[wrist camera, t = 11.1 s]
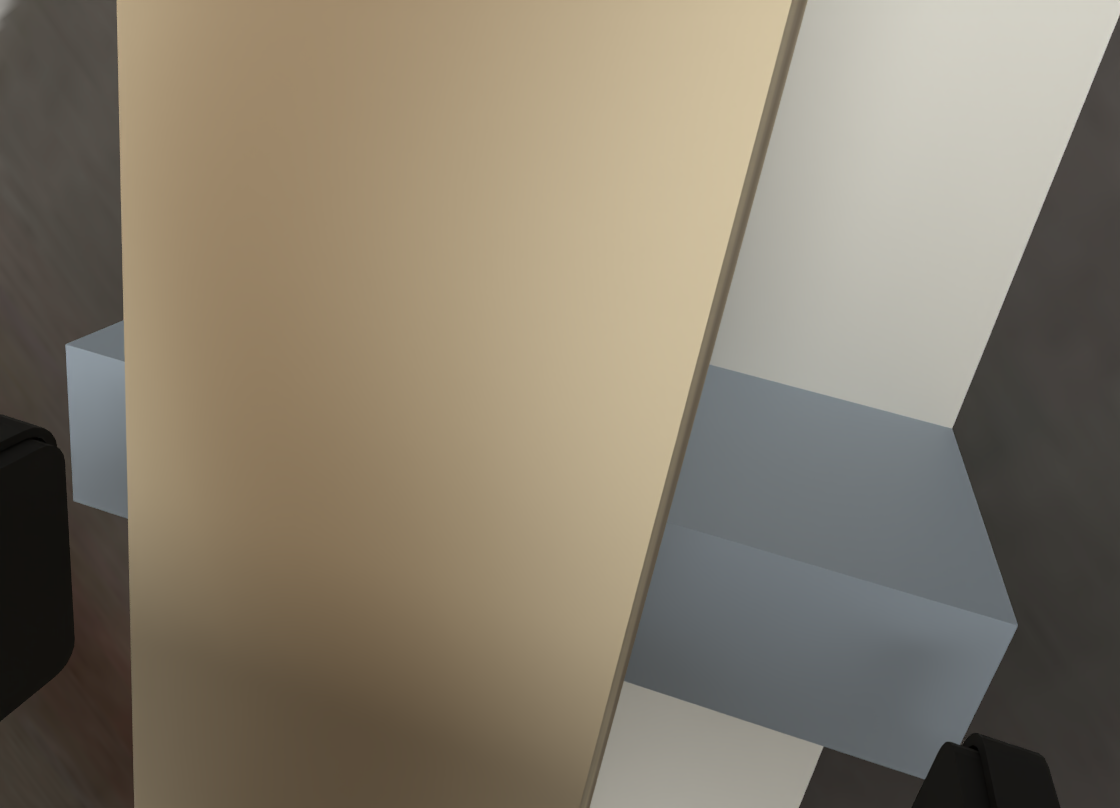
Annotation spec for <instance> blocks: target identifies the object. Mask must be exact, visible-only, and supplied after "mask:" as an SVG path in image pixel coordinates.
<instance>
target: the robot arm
mask: <svg viewBox="0 0 1120 808" xmlns="http://www.w3.org/2000/svg"><path fill="white" fill-rule="evenodd" d="M74 640H75V638H74V620H73V602H72V583H71V565H70V547H69V529H68V511H67V493H66V474H65V460H64V455H63V453H62V452H61V450H60V449H59V448H57V444H56V440H55V438H54V437H53V435H52V434H51V432H49V431H48V430H46V429H44V428H42V427H39V426H36V425H33V424H30V423H26V422H23V421H20V420H17V419H14V418H11V417H8V416H5V415H0V721H1V720H3V719H4V718H5V717H6V716H7V715H9V714H10V713H11V712H12V711H13V710H15V709H16V708H17V707H18V706H20V705H21V704H22V703H23V702H24V701H26V700H27V699H28V698H29V697H31V696H32V695H33V694H34V693H35V692H37V691H38V690H39V689H40V688H42V687H43V686H44V685H45V684H46V683H48V682H49V681H50V680H51V679H53V678H54V677H55V676H56V675H57V674H58V673H59V672H60V671H61V670H62V669H63V668H64V666H65V665H66V664H67V662H68V660H69V658H70V656H71V654H72V651H73V648H74ZM912 808H1060V805H1059V802H1058V798H1057V795H1056V791H1055V788H1054V784H1053V781H1052V777H1051V774H1050V770H1049V767H1048V765H1047V762H1046V760H1045V758H1044V757H1043V756H1041V755H1040V754H1039V753H1036V752H1033V751H1030V750H1027V749H1024V748H1021V747H1018V746H1015V745H1011V744H1008V743H1005V742H1002V741H999V740H996V739H993V738H990V737H987V736H984V735H981V734H978V733H976V734H971V735H970V736H969V737H968V738H967V739H966V740H965V742H964V744H963V745H959V744H956V743H953V742H950V741H949V742H945V743H944V744H943V745H942V746H941V748H940V750H939V751H938V753H937V755H936V758H935V760H934V762H933V764H932V766H931V768H930V770H929V772H928V774H927V776H926V778H925V781H924V783H923V785H922V787H921V789H920V791H919V793H918V795H917V797H916V799H915V802H914V804H913V806H912Z"/></svg>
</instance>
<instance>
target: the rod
mask: <svg viewBox="0 0 1120 808" xmlns="http://www.w3.org/2000/svg"><path fill="white" fill-rule="evenodd" d="M807 1H808V0H117V34H118V80H119V126H120V172H121V218H122V263H123V309H124V355H125V401H126V446H127V492H128V538H129V584H130V629H131V675H132V721H133V767H134V808H590V804H591V801H592V797H593V793H594V790H595V786H596V782H597V778H598V775H599V771H600V767H601V764H602V760H603V756H604V753H605V749H606V745H607V741H608V738H609V734H610V730H611V727H612V723H613V719H614V716H615V712H616V708H617V704H618V701H619V697H620V693H621V690H622V686H623V682H624V679H625V675H626V671H627V667H628V664H629V660H630V656H631V653H632V649H633V645H634V642H635V638H636V634H637V630H638V627H639V623H640V619H641V616H642V612H643V608H644V604H645V601H646V597H647V593H648V590H649V586H650V582H651V579H652V575H653V571H654V567H655V564H656V560H657V556H658V553H659V549H660V545H661V542H662V538H663V534H664V530H665V527H666V523H667V519H668V516H669V512H670V508H671V505H672V501H673V497H674V493H675V490H676V486H677V482H678V479H679V475H680V471H681V468H682V464H683V460H684V456H685V453H686V449H687V445H688V442H689V438H690V434H691V431H692V427H693V423H694V419H695V416H696V412H697V408H698V405H699V401H700V397H701V394H702V390H703V386H704V382H705V379H706V375H707V371H708V368H709V364H710V360H711V357H712V353H713V349H714V345H715V342H716V338H717V334H718V331H719V327H720V323H721V320H722V316H723V312H724V308H725V305H726V301H727V297H728V294H729V290H730V286H731V283H732V279H733V275H734V271H735V268H736V264H737V260H738V257H739V253H740V249H741V246H742V242H743V238H744V234H745V231H746V227H747V223H748V220H749V216H750V212H751V208H752V205H753V201H754V197H755V194H756V190H757V186H758V183H759V179H760V175H761V171H762V168H763V164H764V160H765V157H766V153H767V149H768V146H769V142H770V138H771V134H772V131H773V127H774V123H775V120H776V116H777V112H778V109H779V105H780V101H781V97H782V94H783V90H784V86H785V83H786V79H787V75H788V72H789V68H790V64H791V60H792V57H793V53H794V49H795V46H796V42H797V38H798V35H799V31H800V27H801V23H802V20H803V16H804V12H805V9H806V5H807Z"/></svg>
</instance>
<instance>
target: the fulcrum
mask: <svg viewBox="0 0 1120 808" xmlns="http://www.w3.org/2000/svg"><path fill="white" fill-rule="evenodd" d="M1119 15H1120V0H808V1H807V5H806V9H805V12H804V16H803V20H802V23H801V27H800V31H799V35H798V38H797V42H796V46H795V49H794V53H793V57H792V60H791V64H790V68H789V72H788V75H787V79H786V83H785V86H784V90H783V94H782V97H781V101H780V105H779V109H778V112H777V116H776V120H775V123H774V127H773V131H772V134H771V138H770V142H769V146H768V149H767V153H766V157H765V160H764V164H763V168H762V171H761V175H760V179H759V183H758V186H757V190H756V194H755V197H754V201H753V205H752V208H751V212H750V216H749V220H748V223H747V227H746V231H745V234H744V238H743V242H742V246H741V249H740V253H739V257H738V260H737V264H736V268H735V271H734V275H733V279H732V283H731V286H730V290H729V294H728V297H727V301H726V305H725V308H724V312H723V316H722V320H721V323H720V327H719V331H718V334H717V338H716V342H715V345H714V349H713V353H712V357H711V360H710V364H709V368H708V371H707V375H706V379H705V382H704V386H703V390H702V394H701V397H700V401H699V405H698V408H697V412H696V416H695V419H694V423H693V427H692V431H691V434H690V438H689V442H688V445H687V449H686V453H685V456H684V460H683V464H682V468H681V471H680V475H679V479H678V482H677V486H676V490H675V493H674V497H673V501H672V505H671V508H670V512H669V516H668V519H667V523H666V527H665V530H664V534H663V538H662V542H661V545H660V549H659V553H658V556H657V560H656V564H655V567H654V571H653V575H652V579H651V582H650V586H649V590H648V593H647V597H646V601H645V604H644V608H643V612H642V616H641V619H640V623H639V627H638V630H637V634H636V638H635V642H634V645H633V649H632V653H631V656H630V660H629V664H628V667H627V671H626V675H625V679H624V682H623V686H622V690H621V693H620V697H619V701H618V704H617V708H616V712H615V716H614V719H613V723H612V727H611V730H610V734H609V738H608V741H607V745H606V749H605V753H604V756H603V760H602V764H601V767H600V771H599V775H598V778H597V782H596V786H595V790H594V793H593V797H592V801H591V804H590V808H799V806H800V804H801V801H802V799H803V796H804V794H805V791H806V789H807V786H808V784H809V781H810V779H811V776H812V774H813V771H814V769H815V766H816V764H817V761H818V759H819V757H820V754H821V752H822V749H823V747H827V748H830V749H833V750H836V751H839V752H842V753H845V754H848V755H851V756H854V757H857V758H861V759H864V760H867V761H870V762H873V763H876V764H879V765H882V766H885V767H888V768H891V769H894V770H897V771H900V772H903V773H906V774H909V775H912V776H916V777H919V778H922V779H925V778H926V776H927V774H928V772H929V770H930V768H931V766H932V764H933V762H934V760H935V758H936V755H937V753H938V751H939V750H940V748H941V746H942V745H943V744H944V743H945V742H949V741H950V742H953V743H956V744H959V745H960V744H961V742H962V739H963V737H964V735H965V733H966V731H967V729H968V727H969V725H970V723H971V721H972V719H973V717H974V715H975V713H976V711H977V709H978V707H979V705H980V703H981V701H982V699H983V696H984V694H985V692H986V690H987V688H988V686H989V684H990V682H991V680H992V678H993V676H994V674H995V672H996V670H997V668H998V666H999V664H1000V662H1001V660H1002V658H1003V655H1004V653H1005V651H1006V649H1007V647H1008V645H1009V643H1010V641H1011V639H1012V637H1013V635H1014V633H1015V631H1016V629H1017V627H1018V624H1017V621H1016V618H1015V615H1014V612H1013V609H1012V606H1011V603H1010V600H1009V597H1008V594H1007V591H1006V588H1005V585H1004V582H1003V579H1002V576H1001V573H1000V570H999V567H998V564H997V561H996V558H995V555H994V552H993V549H992V546H991V543H990V540H989V537H988V534H987V531H986V528H985V525H984V522H983V519H982V516H981V513H980V510H979V507H978V504H977V501H976V498H975V495H974V492H973V489H972V486H971V483H970V481H969V478H968V475H967V472H966V469H965V466H964V463H963V460H962V457H961V454H960V451H959V448H958V445H957V442H956V439H955V436H954V433H953V430H952V428H953V425H954V423H955V420H956V418H957V415H958V413H959V410H960V408H961V405H962V403H963V401H964V398H965V396H966V393H967V391H968V388H969V386H970V383H971V381H972V378H973V376H974V373H975V371H976V368H977V366H978V363H979V361H980V359H981V356H982V354H983V351H984V349H985V346H986V344H987V341H988V339H989V336H990V334H991V331H992V329H993V326H994V324H995V321H996V319H997V316H998V314H999V312H1000V309H1001V307H1002V304H1003V302H1004V299H1005V297H1006V294H1007V292H1008V289H1009V287H1010V284H1011V282H1012V279H1013V277H1014V274H1015V272H1016V270H1017V267H1018V265H1019V262H1020V260H1021V257H1022V255H1023V252H1024V250H1025V247H1026V245H1027V242H1028V240H1029V237H1030V235H1031V232H1032V230H1033V227H1034V225H1035V223H1036V220H1037V218H1038V215H1039V213H1040V210H1041V208H1042V205H1043V203H1044V200H1045V198H1046V195H1047V193H1048V190H1049V188H1050V185H1051V183H1052V181H1053V178H1054V176H1055V173H1056V171H1057V168H1058V166H1059V163H1060V161H1061V158H1062V156H1063V153H1064V151H1065V148H1066V146H1067V143H1068V141H1069V139H1070V136H1071V134H1072V131H1073V129H1074V126H1075V124H1076V121H1077V119H1078V116H1079V114H1080V111H1081V109H1082V106H1083V104H1084V101H1085V99H1086V96H1087V94H1088V92H1089V89H1090V87H1091V84H1092V82H1093V79H1094V77H1095V74H1096V72H1097V69H1098V67H1099V64H1100V62H1101V59H1102V57H1103V54H1104V52H1105V50H1106V47H1107V45H1108V42H1109V40H1110V37H1111V35H1112V32H1113V30H1114V27H1115V25H1116V22H1117V20H1118V17H1119ZM66 364H67V383H68V403H69V423H70V442H71V462H72V482H73V501H75V502H78V503H81V504H84V505H87V506H91V507H94V508H97V509H100V510H103V511H106V512H109V513H112V514H115V515H118V516H121V517H124V518H127V519H128V492H127V446H126V401H125V355H124V320H123V321H121V322H118V323H116V324H113V325H111V326H109V327H106V328H104V329H101V330H99V331H97V332H94V333H92V334H89V335H87V336H84V337H82V338H80V339H77V340H75V341H72V342H70V343H68V344H66Z"/></svg>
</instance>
